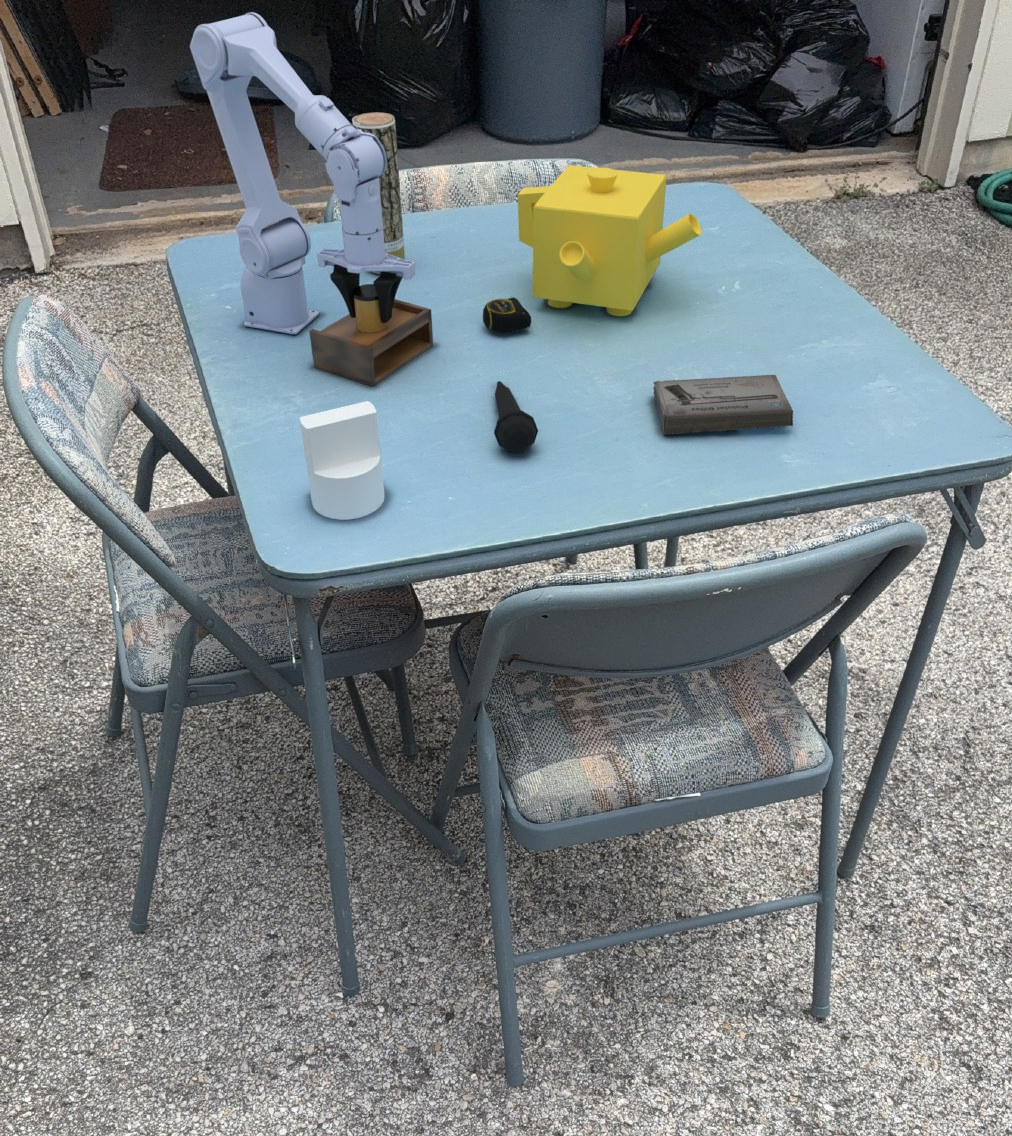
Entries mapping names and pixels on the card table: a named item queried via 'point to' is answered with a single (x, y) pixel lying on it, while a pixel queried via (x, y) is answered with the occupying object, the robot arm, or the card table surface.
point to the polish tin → (367, 309)
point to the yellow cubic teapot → (598, 236)
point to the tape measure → (505, 316)
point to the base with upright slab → (344, 461)
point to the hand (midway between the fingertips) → (371, 317)
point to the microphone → (513, 422)
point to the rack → (373, 344)
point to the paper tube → (387, 178)
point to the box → (721, 404)
